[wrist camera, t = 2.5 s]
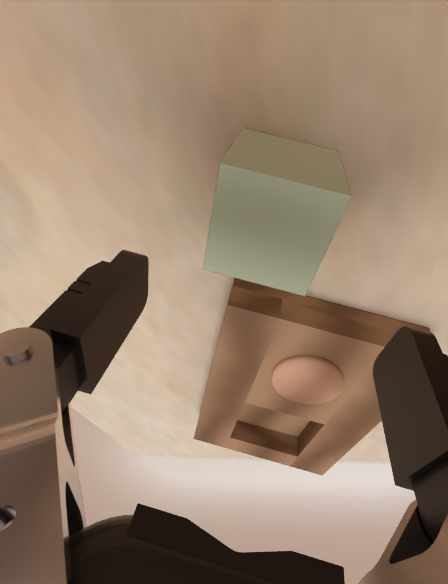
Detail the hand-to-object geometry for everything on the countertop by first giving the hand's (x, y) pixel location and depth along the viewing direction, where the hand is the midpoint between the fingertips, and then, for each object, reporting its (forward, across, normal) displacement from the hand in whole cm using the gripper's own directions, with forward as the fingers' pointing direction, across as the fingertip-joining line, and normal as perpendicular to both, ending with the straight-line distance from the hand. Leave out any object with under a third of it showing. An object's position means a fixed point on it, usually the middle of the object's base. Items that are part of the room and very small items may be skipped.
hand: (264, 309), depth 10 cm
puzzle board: (+10, -5, +17) cm, 20 cm away
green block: (+10, 0, 0) cm, 10 cm away
